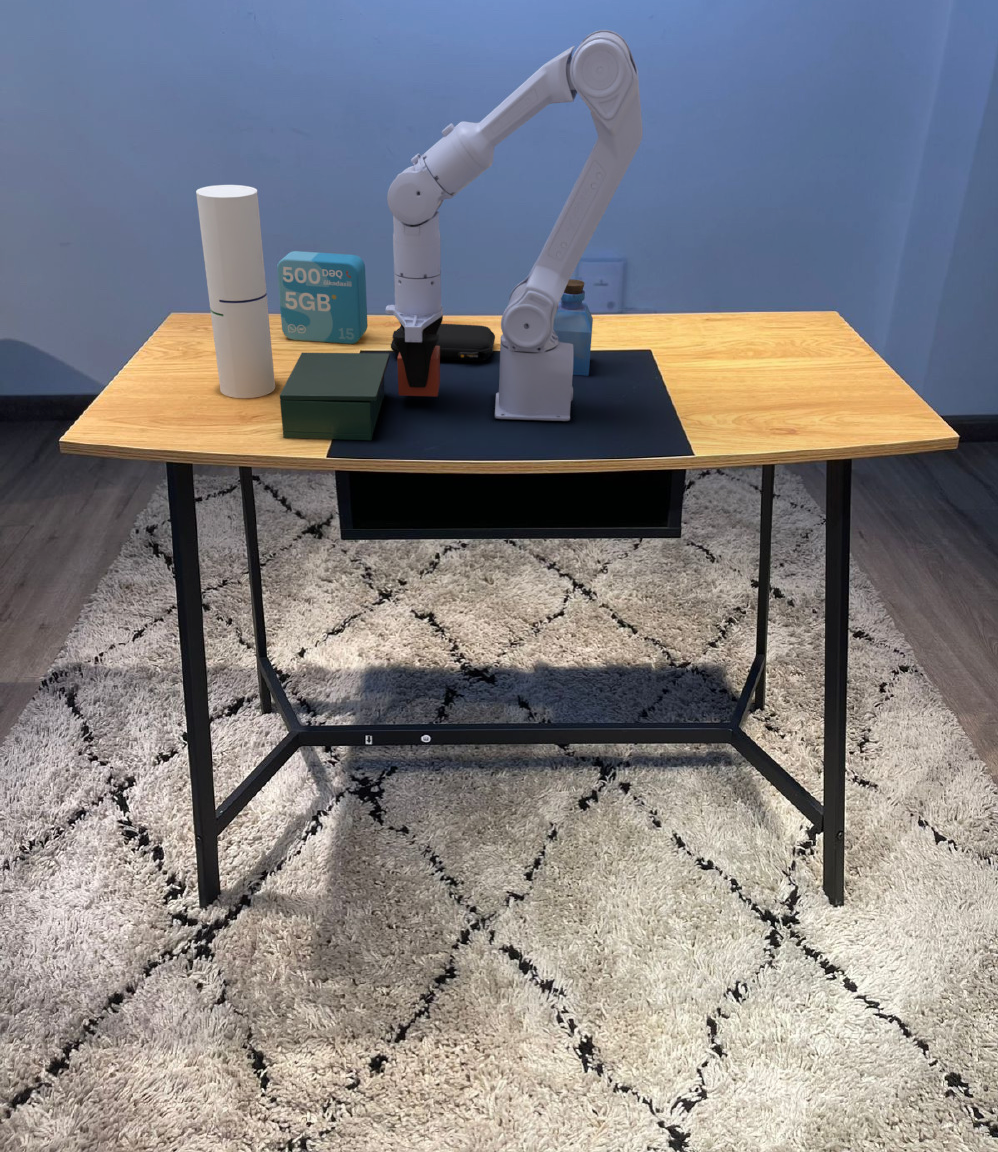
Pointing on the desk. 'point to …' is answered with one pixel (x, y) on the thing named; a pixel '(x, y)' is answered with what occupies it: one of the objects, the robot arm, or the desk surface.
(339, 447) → the desk surface
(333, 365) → the bin lid
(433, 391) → the block
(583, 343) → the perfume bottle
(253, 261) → the cylindrical container
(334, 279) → the data package
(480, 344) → the carrying case
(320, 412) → the bin
